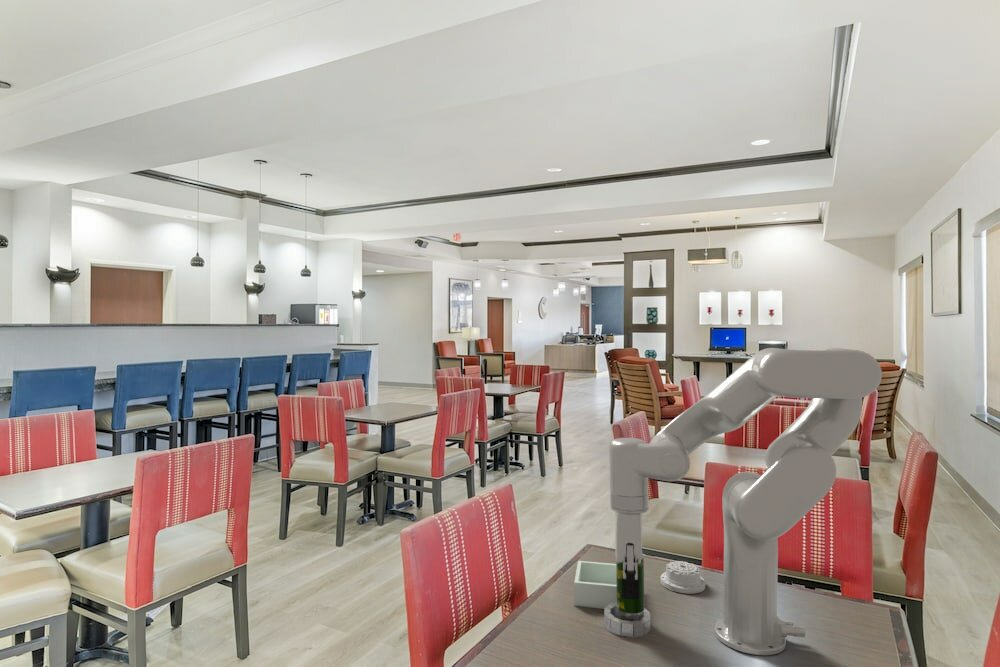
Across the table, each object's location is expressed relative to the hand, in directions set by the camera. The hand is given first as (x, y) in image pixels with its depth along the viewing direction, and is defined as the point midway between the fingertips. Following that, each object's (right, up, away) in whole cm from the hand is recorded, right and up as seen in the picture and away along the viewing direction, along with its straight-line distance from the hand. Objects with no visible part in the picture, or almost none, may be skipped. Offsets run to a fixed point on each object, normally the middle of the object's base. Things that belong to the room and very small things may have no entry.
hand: (630, 590), depth 117 cm
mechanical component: (+16, -7, +19) cm, 26 cm away
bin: (-3, -7, +13) cm, 15 cm away
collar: (-1, -7, 0) cm, 7 cm away
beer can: (0, -4, 0) cm, 4 cm away
